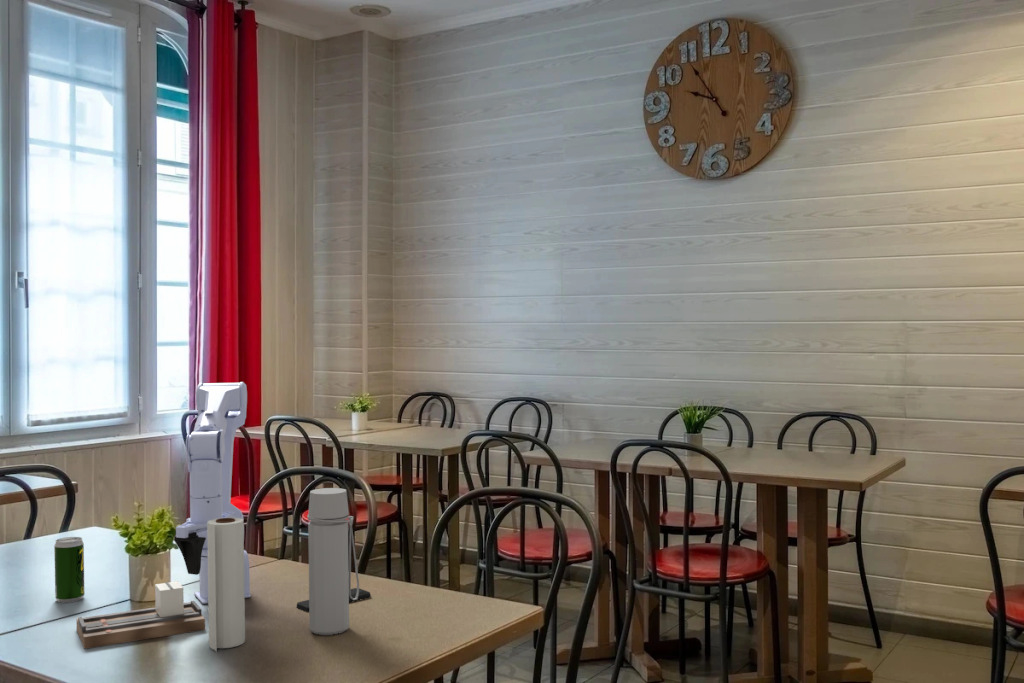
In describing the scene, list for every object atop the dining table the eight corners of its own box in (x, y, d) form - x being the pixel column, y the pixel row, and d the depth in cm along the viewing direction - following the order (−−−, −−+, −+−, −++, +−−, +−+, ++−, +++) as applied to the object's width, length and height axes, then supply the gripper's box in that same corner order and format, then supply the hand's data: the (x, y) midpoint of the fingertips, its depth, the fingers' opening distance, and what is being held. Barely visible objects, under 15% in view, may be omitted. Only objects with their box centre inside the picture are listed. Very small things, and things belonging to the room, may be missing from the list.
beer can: (57, 604, 193) (56, 543, 192) (53, 598, 197) (52, 538, 197) (87, 600, 196) (85, 540, 195) (82, 594, 200) (81, 535, 200)
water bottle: (315, 639, 170) (313, 496, 169) (303, 627, 177) (301, 489, 176) (366, 631, 174) (364, 491, 174) (352, 620, 181) (350, 485, 181)
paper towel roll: (231, 635, 173) (230, 514, 172) (252, 642, 169) (251, 519, 168) (195, 646, 167) (193, 521, 167) (216, 653, 163) (214, 525, 163)
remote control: (307, 617, 186) (373, 598, 196) (307, 608, 186) (372, 590, 196) (294, 612, 190) (359, 593, 200) (293, 603, 190) (358, 585, 200)
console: (191, 612, 187) (190, 596, 187) (205, 629, 176) (204, 613, 176) (76, 629, 177) (76, 613, 177) (84, 648, 166) (84, 631, 166)
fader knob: (178, 607, 182) (177, 580, 182) (183, 613, 178) (183, 587, 178) (155, 610, 180) (155, 583, 180) (160, 617, 176) (160, 590, 176)
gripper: (213, 488, 190) (214, 558, 190) (161, 501, 176) (162, 576, 177) (243, 490, 188) (244, 561, 188) (193, 503, 174) (195, 579, 174)
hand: (207, 568), depth 182 cm, fingers open, 7 cm apart
